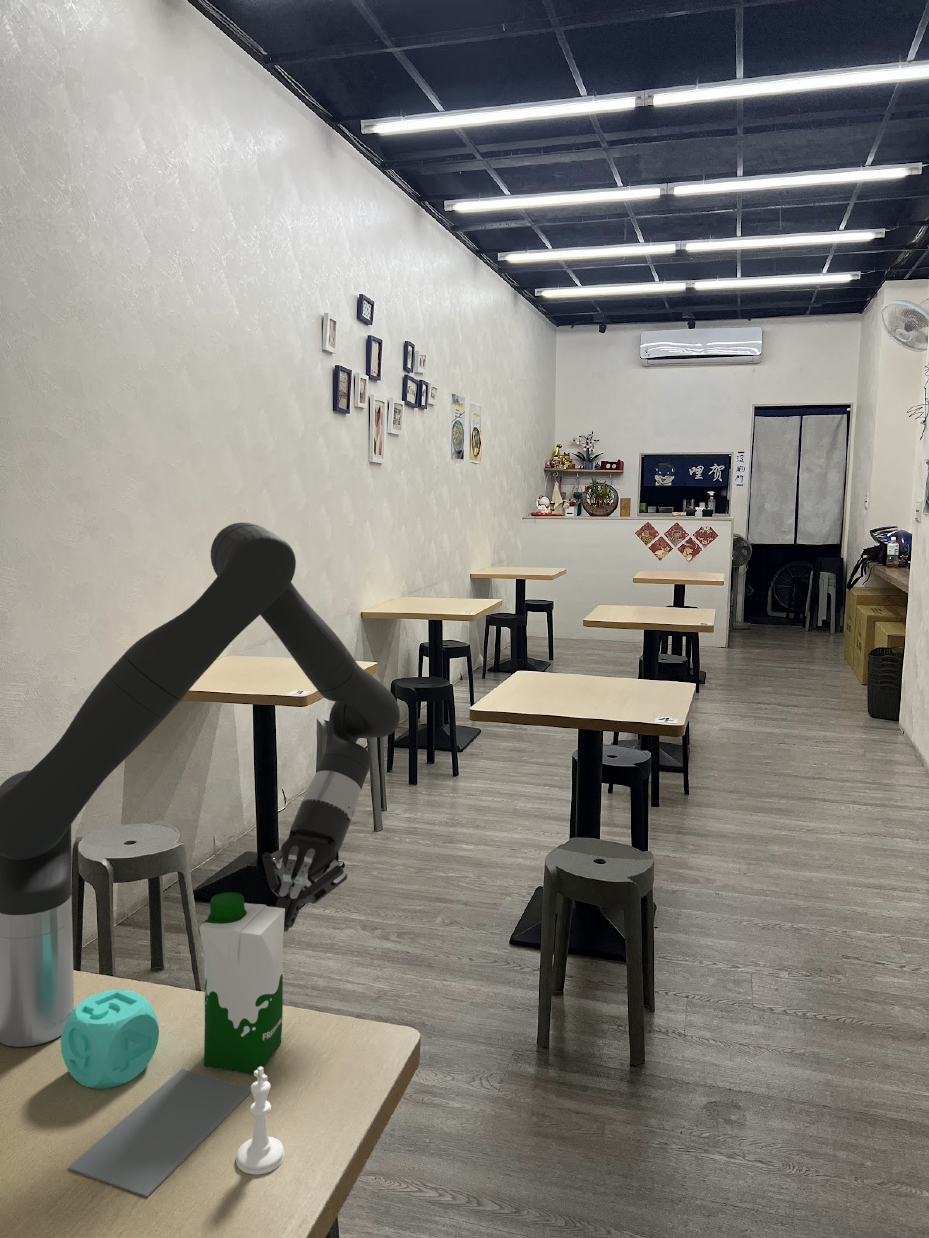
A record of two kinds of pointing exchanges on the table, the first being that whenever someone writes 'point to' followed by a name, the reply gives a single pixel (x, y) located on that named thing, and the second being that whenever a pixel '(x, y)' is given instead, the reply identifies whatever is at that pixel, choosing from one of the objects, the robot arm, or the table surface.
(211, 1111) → the mat
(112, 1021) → the decorative dice
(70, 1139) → the table surface
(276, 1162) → the chess piece
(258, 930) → the soya milk
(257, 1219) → the table surface
